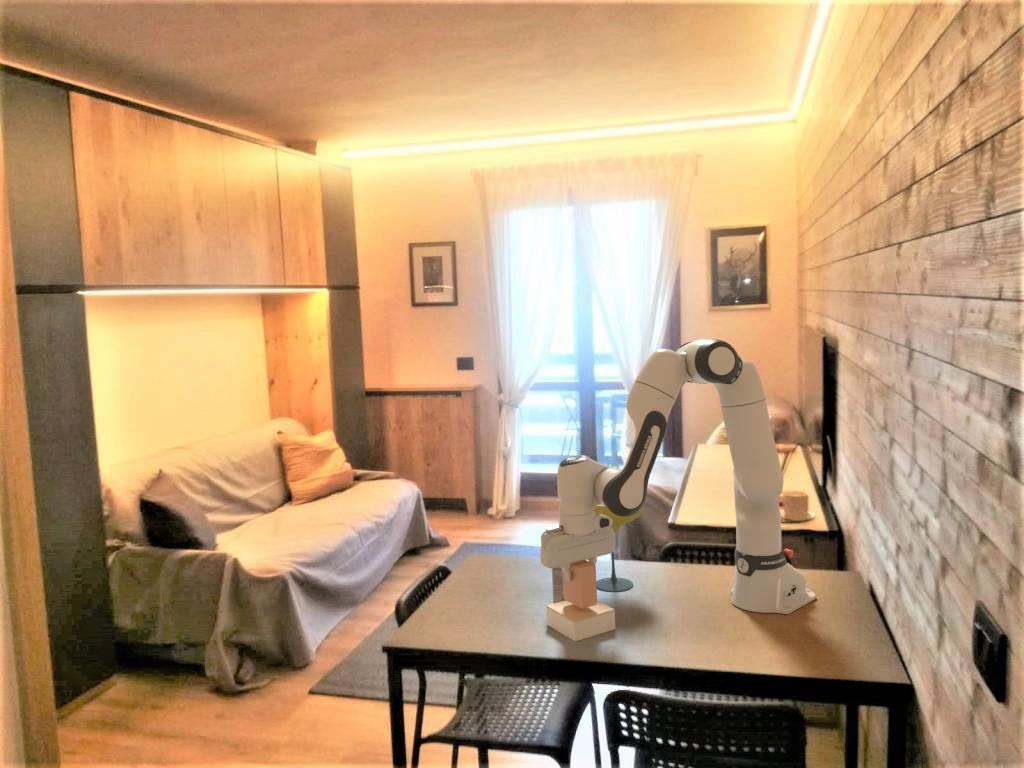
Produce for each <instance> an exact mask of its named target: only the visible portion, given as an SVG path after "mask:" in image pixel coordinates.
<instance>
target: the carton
mask: <svg viewBox="0 0 1024 768" xmlns="http://www.w3.org/2000/svg"><path fill="white" fill-rule="evenodd" d="M596 565H597V564H593V563H591V562H589V560H583V561H579V562H575V563H571V564H570V568H568V570H569V572H571V573H573V576H574V577H573V578H574V580H572V581H566V580H565V573H564V572H563V570H562V576H563V597H564V599H565V600H567V601H568V602H570V603H572V604H574V605H576V606H578V607H580V608H581V609H584V608H587V607H590V606H594V605H597V601H598V588H597V585H596V581H597V568H596Z"/></svg>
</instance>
